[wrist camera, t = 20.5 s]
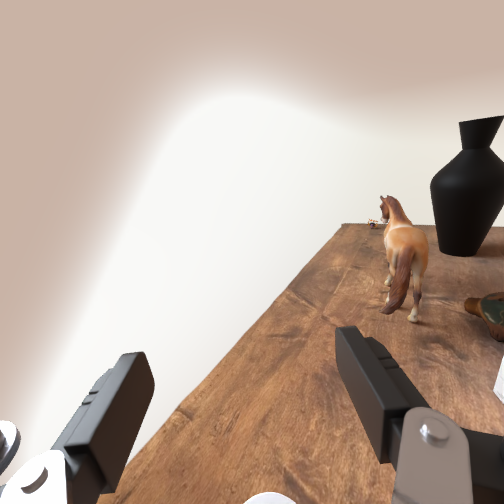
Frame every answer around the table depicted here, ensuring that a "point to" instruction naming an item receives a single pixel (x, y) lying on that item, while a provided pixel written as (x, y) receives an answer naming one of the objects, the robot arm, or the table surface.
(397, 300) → the horse figurine
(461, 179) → the vase
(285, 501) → the pill bottle
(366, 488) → the table surface
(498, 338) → the decorative turtle
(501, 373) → the ink box
